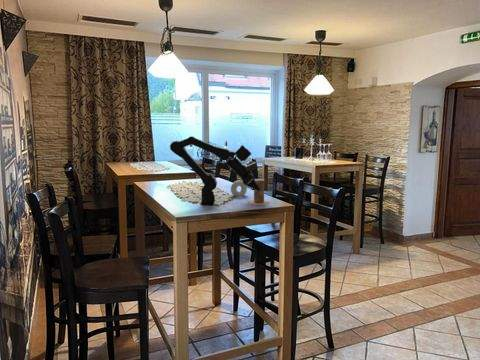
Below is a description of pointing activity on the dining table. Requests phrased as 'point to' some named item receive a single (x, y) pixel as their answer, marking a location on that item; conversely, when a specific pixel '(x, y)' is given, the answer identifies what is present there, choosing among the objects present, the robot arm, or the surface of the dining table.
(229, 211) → the dining table surface
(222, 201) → the dining table surface
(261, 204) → the coaster
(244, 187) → the donut
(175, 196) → the dining table surface
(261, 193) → the walnut block
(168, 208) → the dining table surface
